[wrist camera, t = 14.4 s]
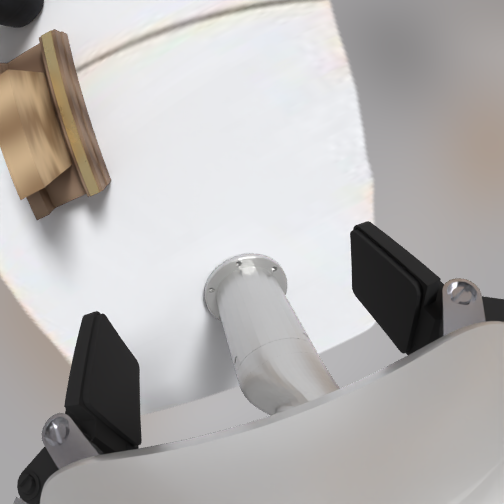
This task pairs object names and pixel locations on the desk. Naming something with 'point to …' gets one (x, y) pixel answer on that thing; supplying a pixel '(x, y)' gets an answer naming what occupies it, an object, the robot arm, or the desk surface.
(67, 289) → the desk surface
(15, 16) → the mallet
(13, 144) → the wooden picture frame
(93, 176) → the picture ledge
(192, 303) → the desk surface
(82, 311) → the desk surface
